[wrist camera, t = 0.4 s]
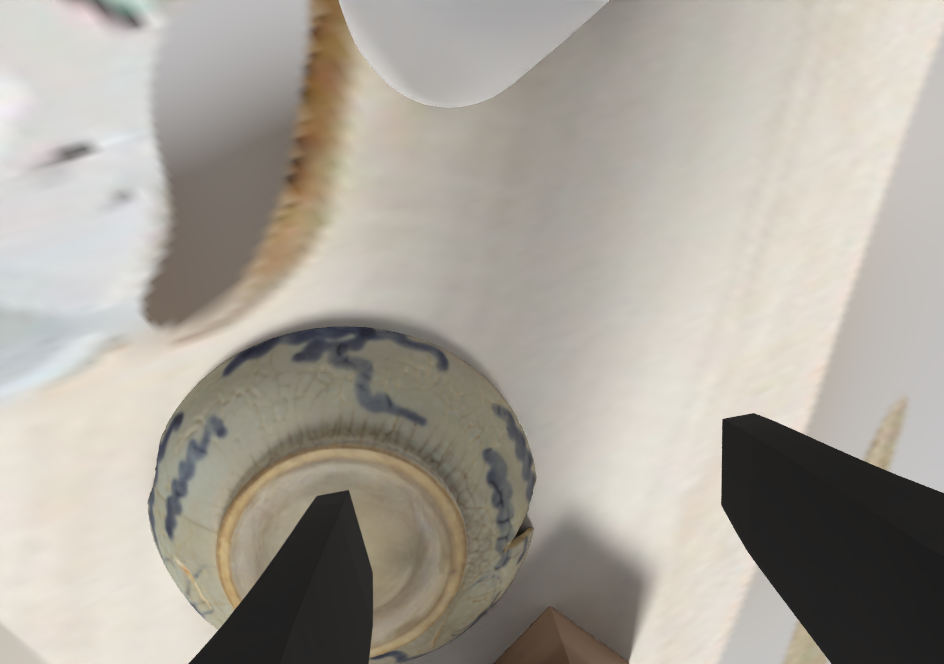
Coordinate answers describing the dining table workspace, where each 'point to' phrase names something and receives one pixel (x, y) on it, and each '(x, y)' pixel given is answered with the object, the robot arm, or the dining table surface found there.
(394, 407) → the decorative bowl
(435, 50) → the can
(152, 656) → the dining table surface
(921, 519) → the robot arm
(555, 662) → the walnut block
